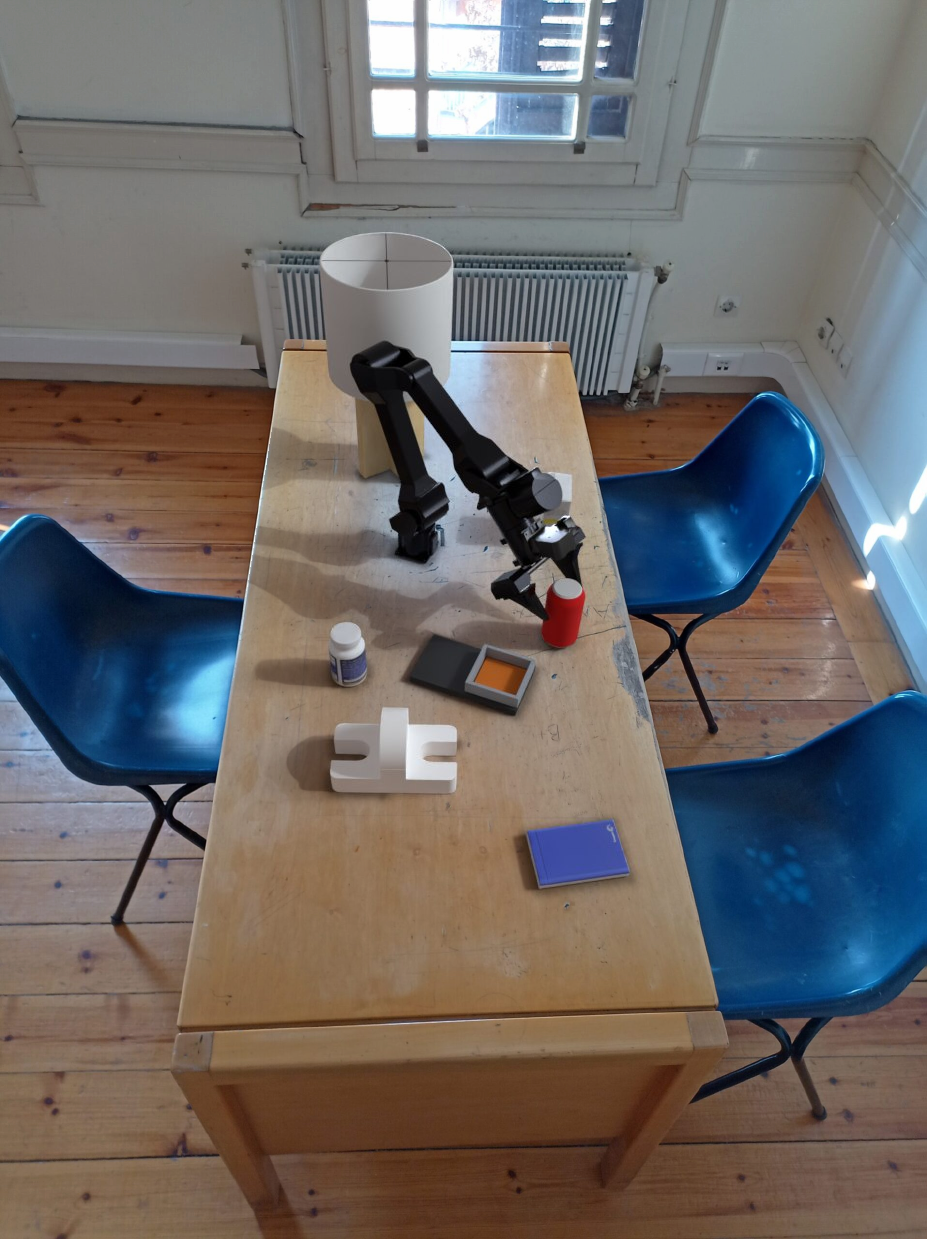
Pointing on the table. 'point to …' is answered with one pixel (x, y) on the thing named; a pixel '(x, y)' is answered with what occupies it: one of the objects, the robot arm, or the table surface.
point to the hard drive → (576, 853)
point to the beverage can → (563, 613)
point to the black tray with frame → (475, 673)
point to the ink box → (565, 506)
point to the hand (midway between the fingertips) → (564, 605)
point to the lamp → (385, 320)
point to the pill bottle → (347, 654)
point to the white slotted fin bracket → (394, 756)
